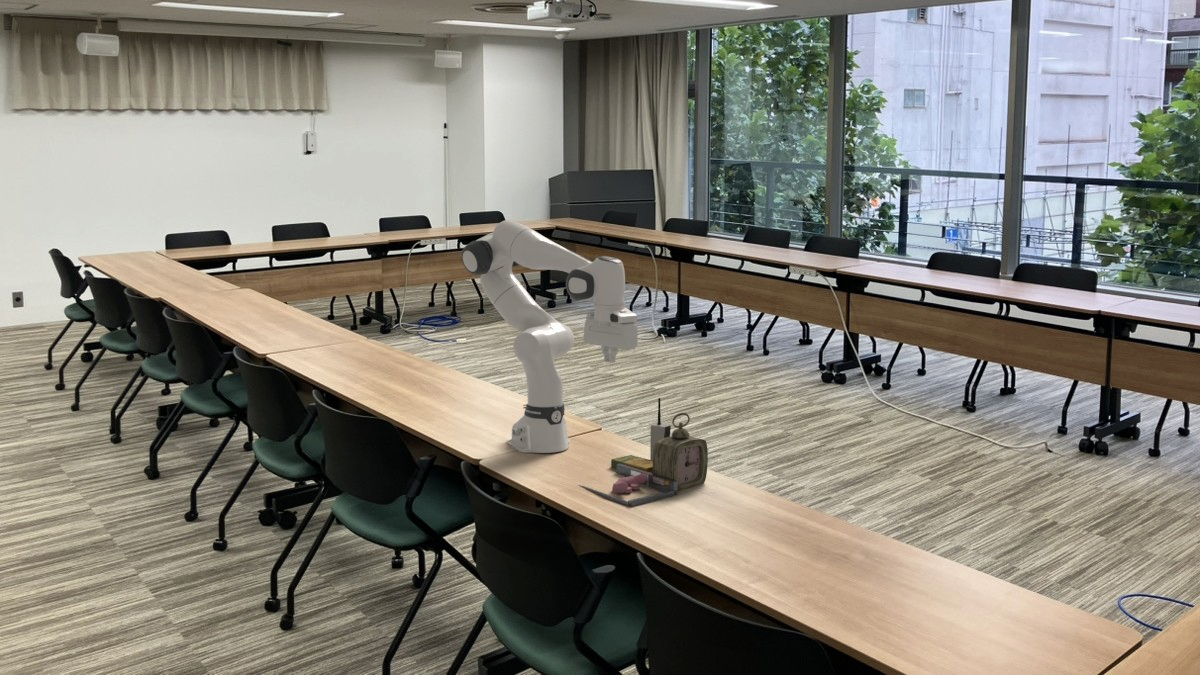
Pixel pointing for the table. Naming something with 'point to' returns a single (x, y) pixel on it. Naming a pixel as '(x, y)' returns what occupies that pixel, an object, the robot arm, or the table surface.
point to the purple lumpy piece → (628, 484)
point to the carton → (634, 463)
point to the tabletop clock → (681, 457)
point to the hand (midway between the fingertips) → (609, 362)
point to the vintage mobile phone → (658, 431)
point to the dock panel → (653, 481)
